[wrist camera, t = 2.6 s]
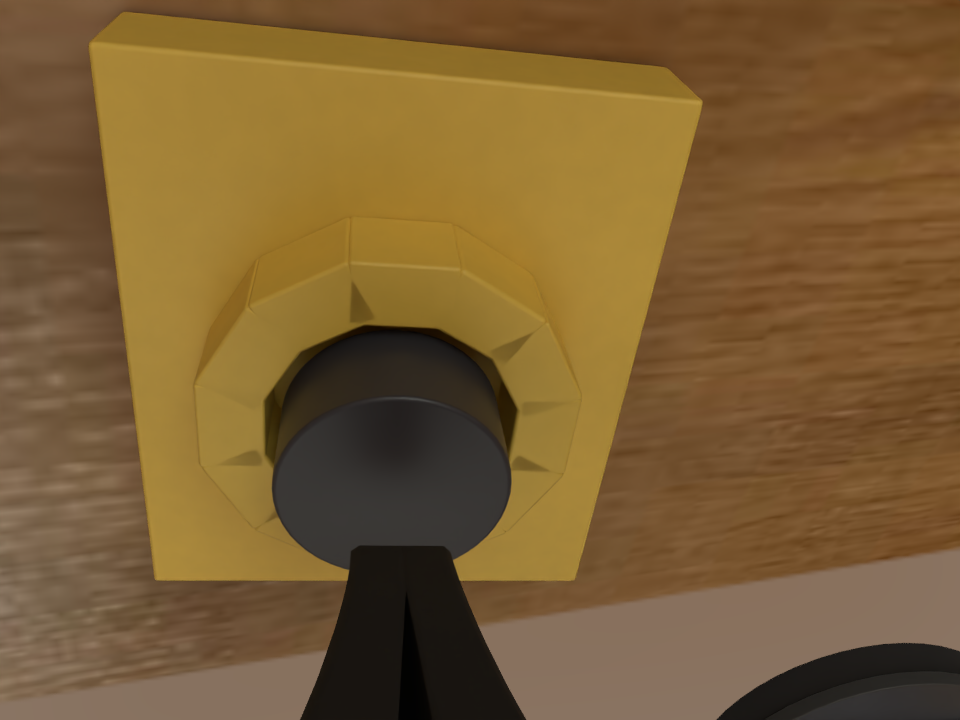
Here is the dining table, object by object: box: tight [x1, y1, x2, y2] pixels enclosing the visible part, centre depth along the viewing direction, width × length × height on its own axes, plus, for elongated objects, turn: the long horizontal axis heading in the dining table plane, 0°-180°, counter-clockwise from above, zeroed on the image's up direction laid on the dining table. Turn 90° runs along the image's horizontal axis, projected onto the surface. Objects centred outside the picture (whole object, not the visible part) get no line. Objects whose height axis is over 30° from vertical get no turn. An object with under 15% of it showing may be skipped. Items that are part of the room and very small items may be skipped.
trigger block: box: [88, 12, 703, 581], centre depth 17 cm, size 12×10×4 cm
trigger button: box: [272, 330, 512, 570], centre depth 15 cm, size 4×4×2 cm
